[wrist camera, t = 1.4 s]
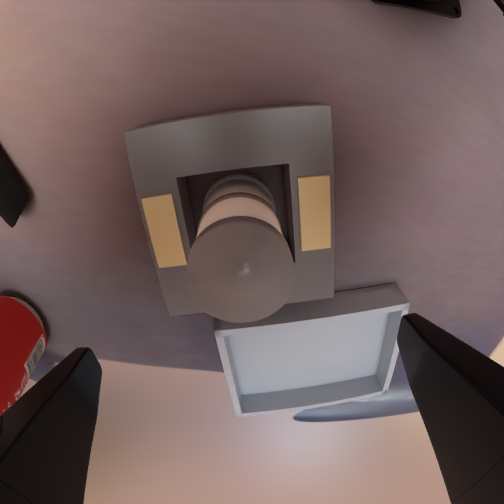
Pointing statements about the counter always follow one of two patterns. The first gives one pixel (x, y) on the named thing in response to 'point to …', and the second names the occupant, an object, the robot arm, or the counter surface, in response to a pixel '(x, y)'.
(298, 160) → the fuse block
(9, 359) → the beverage can
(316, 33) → the counter surface
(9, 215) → the electric trimmer
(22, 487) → the robot arm
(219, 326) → the parts tray
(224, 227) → the cylinder
